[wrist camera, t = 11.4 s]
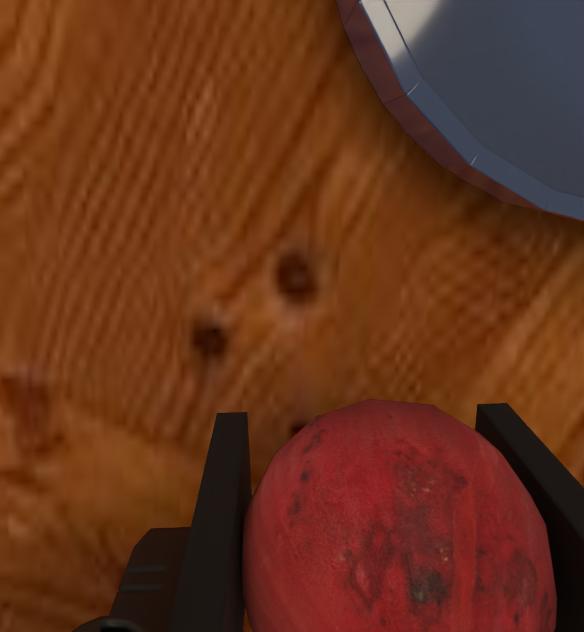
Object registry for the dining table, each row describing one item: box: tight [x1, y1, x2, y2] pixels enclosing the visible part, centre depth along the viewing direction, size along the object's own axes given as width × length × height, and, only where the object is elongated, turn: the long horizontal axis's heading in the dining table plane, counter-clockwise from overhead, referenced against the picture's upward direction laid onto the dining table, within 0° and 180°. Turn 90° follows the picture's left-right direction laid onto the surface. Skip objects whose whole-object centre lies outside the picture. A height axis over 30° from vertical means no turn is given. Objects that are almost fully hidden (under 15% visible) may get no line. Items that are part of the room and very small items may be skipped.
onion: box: [242, 399, 557, 632], centre depth 10 cm, size 6×6×8 cm
